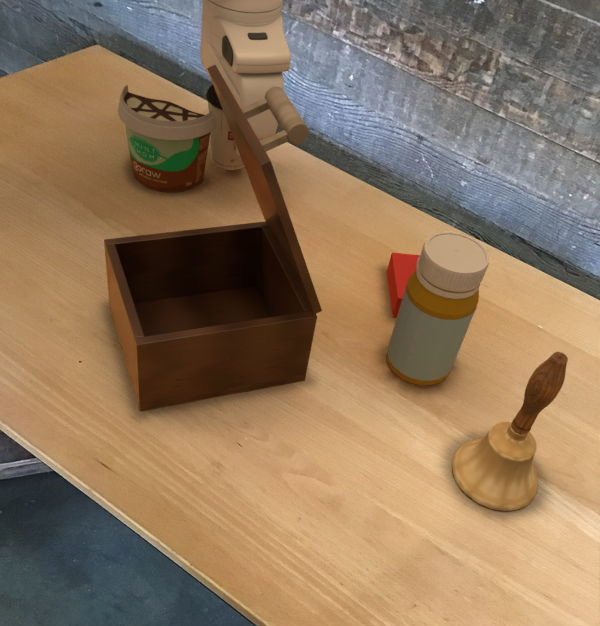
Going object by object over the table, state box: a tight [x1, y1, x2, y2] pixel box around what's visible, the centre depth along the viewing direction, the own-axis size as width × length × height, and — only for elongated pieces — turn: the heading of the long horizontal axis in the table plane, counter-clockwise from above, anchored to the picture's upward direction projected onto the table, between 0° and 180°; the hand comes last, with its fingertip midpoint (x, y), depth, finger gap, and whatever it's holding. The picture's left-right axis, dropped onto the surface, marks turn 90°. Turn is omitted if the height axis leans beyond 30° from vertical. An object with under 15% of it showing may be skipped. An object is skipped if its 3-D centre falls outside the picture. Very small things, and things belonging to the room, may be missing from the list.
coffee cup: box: [205, 84, 245, 171], centre depth 95 cm, size 7×7×10 cm
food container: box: [117, 84, 217, 193], centre depth 92 cm, size 12×6×10 cm, turn 71°
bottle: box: [385, 230, 490, 386], centre depth 75 cm, size 7×7×15 cm
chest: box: [103, 220, 318, 412], centre depth 75 cm, size 17×15×9 cm
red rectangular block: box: [386, 252, 421, 318], centre depth 86 cm, size 8×7×6 cm
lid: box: [207, 65, 323, 315], centre depth 67 cm, size 18×15×5 cm
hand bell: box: [451, 351, 569, 512], centre depth 66 cm, size 8×8×16 cm
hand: (231, 134), depth 96 cm, fingers closed on coffee cup, 7 cm apart
